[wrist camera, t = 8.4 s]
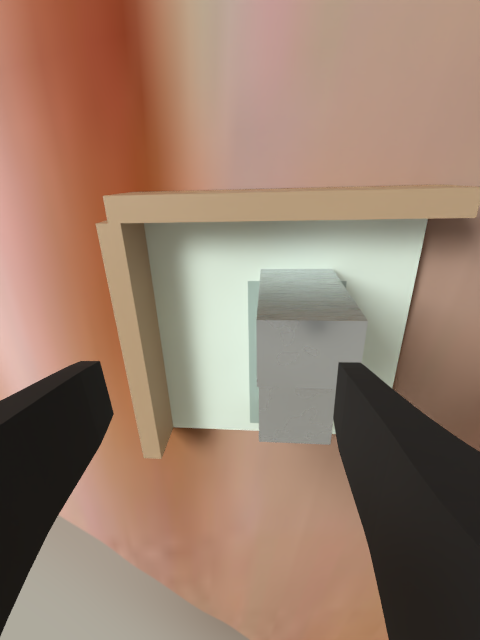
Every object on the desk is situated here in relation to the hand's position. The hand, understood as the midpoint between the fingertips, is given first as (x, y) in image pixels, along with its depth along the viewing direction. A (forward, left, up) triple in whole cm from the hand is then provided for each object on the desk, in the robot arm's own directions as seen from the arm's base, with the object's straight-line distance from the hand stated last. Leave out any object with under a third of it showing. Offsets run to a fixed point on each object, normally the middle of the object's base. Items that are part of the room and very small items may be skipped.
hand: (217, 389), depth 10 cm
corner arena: (-2, +3, -11) cm, 11 cm away
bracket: (-3, +3, -10) cm, 11 cm away
